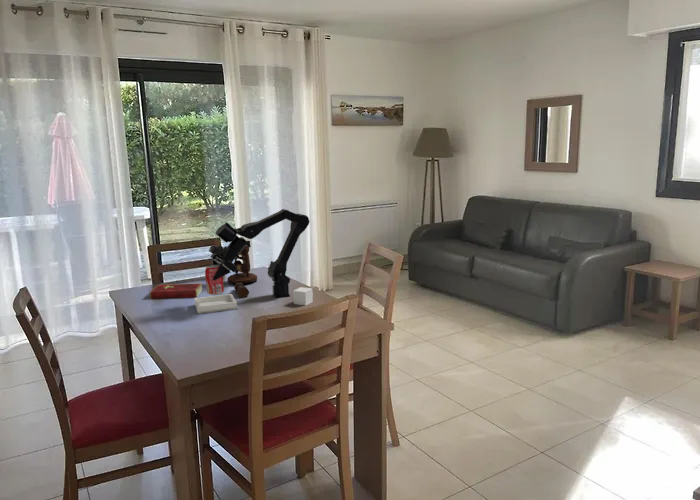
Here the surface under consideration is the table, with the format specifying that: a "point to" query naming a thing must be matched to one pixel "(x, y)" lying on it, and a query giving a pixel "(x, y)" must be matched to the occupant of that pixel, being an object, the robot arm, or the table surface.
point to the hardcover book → (176, 291)
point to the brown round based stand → (242, 269)
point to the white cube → (303, 296)
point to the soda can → (211, 285)
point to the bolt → (241, 290)
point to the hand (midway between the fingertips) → (210, 278)
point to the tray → (215, 303)
